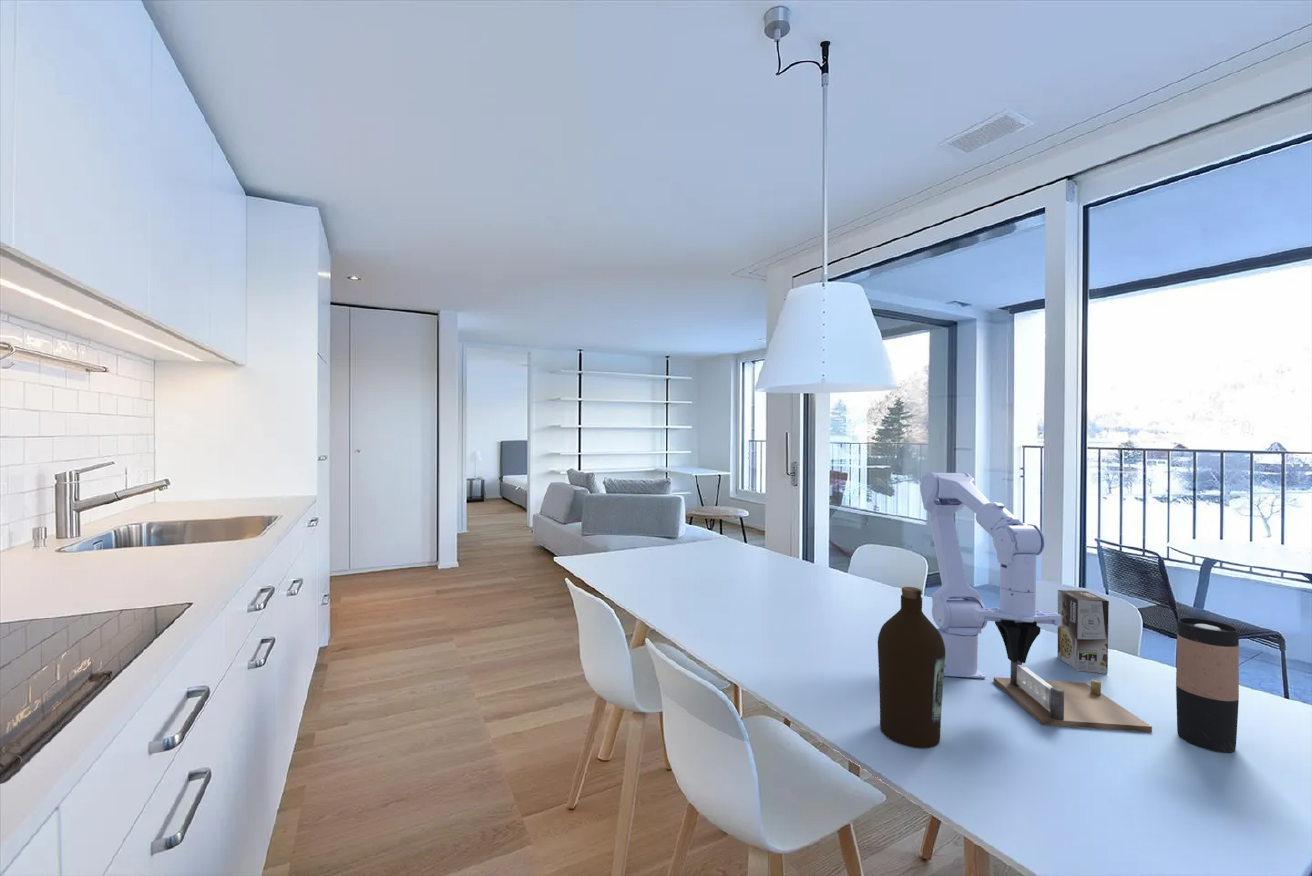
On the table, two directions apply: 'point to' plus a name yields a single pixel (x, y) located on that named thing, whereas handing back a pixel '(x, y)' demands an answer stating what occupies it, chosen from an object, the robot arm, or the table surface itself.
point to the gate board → (1073, 705)
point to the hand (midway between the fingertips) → (1016, 660)
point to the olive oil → (911, 675)
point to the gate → (1034, 685)
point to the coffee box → (1083, 631)
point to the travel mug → (1207, 684)
